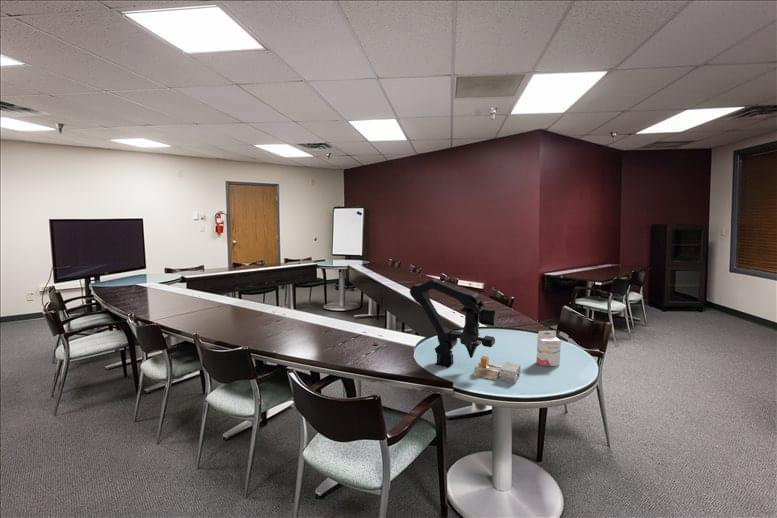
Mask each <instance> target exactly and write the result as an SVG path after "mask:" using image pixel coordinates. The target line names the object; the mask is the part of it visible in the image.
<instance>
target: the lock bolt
mask: <svg viewBox="0 0 777 518" xmlns="http://www.w3.org/2000/svg"><path fill="white" fill-rule="evenodd" d="M489 360H490V359H489V356H486V355H482V356H481V357H480V362H481V367H483V368H488V369H493V370H498V374H499V375H500V373H501V368H502V367H501V368H496V367H491V366H489V364H490V363H489Z"/></svg>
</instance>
